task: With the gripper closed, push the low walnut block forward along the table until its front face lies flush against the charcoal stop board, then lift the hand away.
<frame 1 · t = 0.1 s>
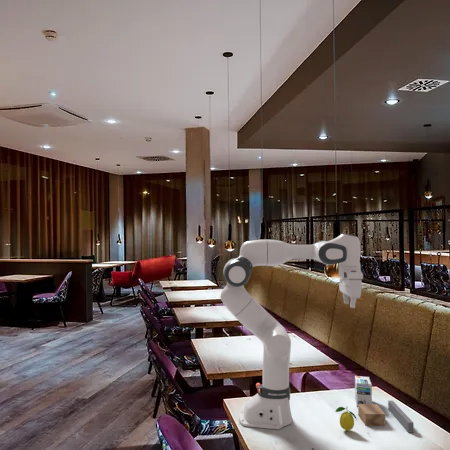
hand: (349, 305, 186), 48 cm above the table, fingers open, 8 cm apart
walnut block: (371, 421, 185), on the table
stop board: (400, 420, 185), on the table
lemon: (346, 431, 176), on the table
light bulb box: (363, 403, 203), on the table
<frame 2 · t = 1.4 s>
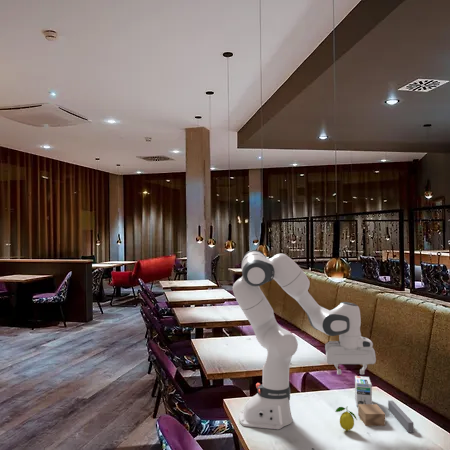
hand: (350, 374, 186), 19 cm above the table, fingers open, 8 cm apart
nothing on the table moved.
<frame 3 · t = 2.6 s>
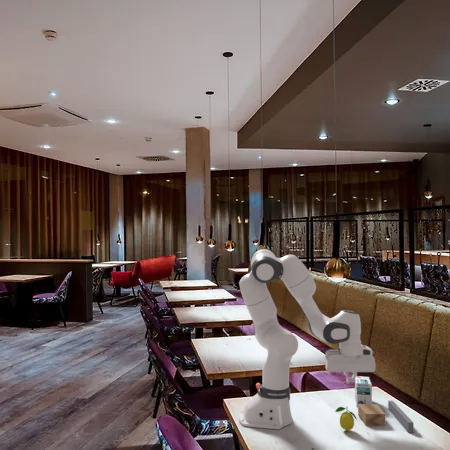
hand: (350, 382, 186), 16 cm above the table, fingers closed
nothing on the table moved.
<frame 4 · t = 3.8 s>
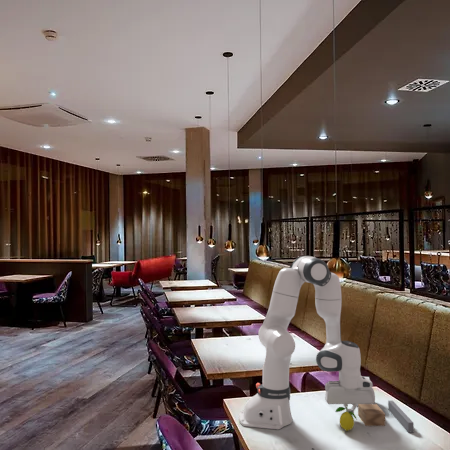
hand: (349, 413, 186), 2 cm above the table, fingers closed
nothing on the table moved.
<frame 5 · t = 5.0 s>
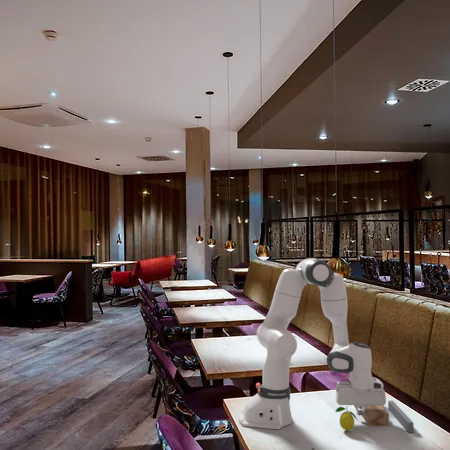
hand: (360, 415, 185), 2 cm above the table, fingers closed
walnut block: (374, 421, 185), on the table
everything else where it was.
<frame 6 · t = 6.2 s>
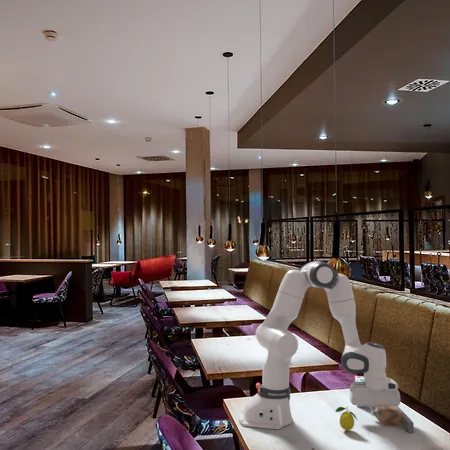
hand: (374, 415, 185), 2 cm above the table, fingers closed
walnut block: (388, 421, 185), on the table, touching gripper, stop board
everything else where it was.
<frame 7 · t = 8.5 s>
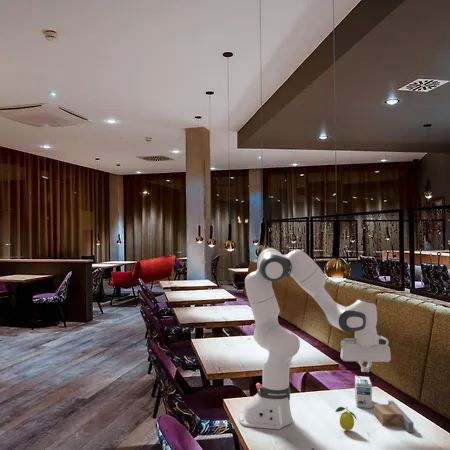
hand: (365, 371, 186), 20 cm above the table, fingers closed
walnut block: (387, 421, 185), on the table
everything else where it was.
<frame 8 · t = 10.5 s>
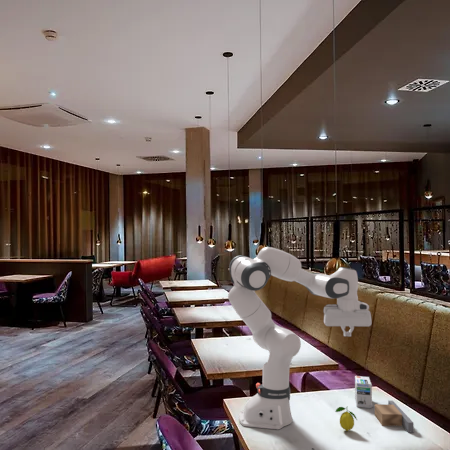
hand: (347, 336, 194), 33 cm above the table, fingers closed
nothing on the table moved.
at the end: walnut block 0.4 cm from the target spot on the table beside the stop board, on the table; walnut block tilted 0° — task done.
